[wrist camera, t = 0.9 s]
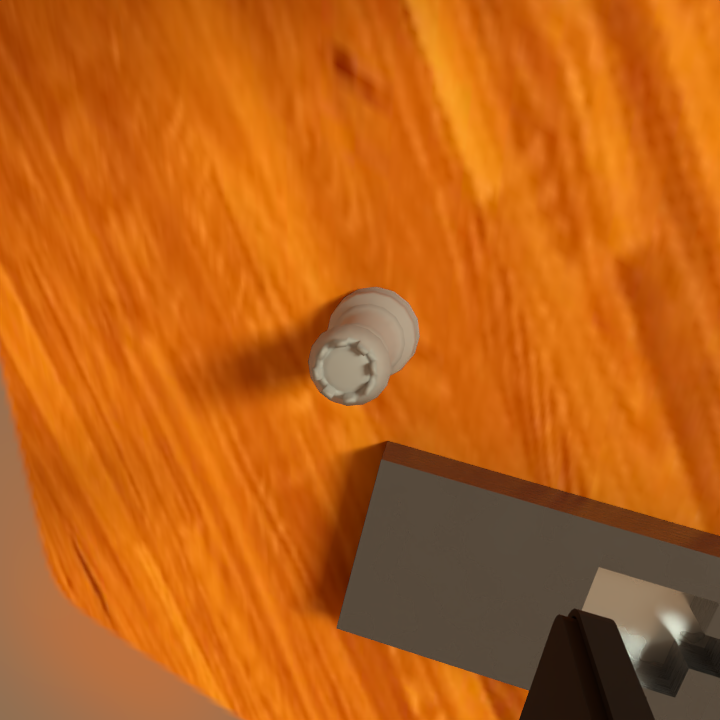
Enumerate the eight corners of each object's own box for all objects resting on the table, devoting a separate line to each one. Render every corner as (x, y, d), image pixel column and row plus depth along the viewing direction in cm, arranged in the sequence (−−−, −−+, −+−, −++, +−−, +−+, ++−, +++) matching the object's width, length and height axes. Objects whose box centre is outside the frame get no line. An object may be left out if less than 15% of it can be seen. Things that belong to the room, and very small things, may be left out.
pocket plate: (387, 440, 32) (381, 459, 29) (871, 579, 29) (905, 611, 27) (345, 600, 35) (336, 628, 32) (784, 739, 32) (808, 780, 30)
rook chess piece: (439, 335, 30) (429, 380, 22) (371, 390, 31) (340, 450, 24) (379, 266, 30) (348, 287, 22) (313, 324, 31) (263, 363, 23)
